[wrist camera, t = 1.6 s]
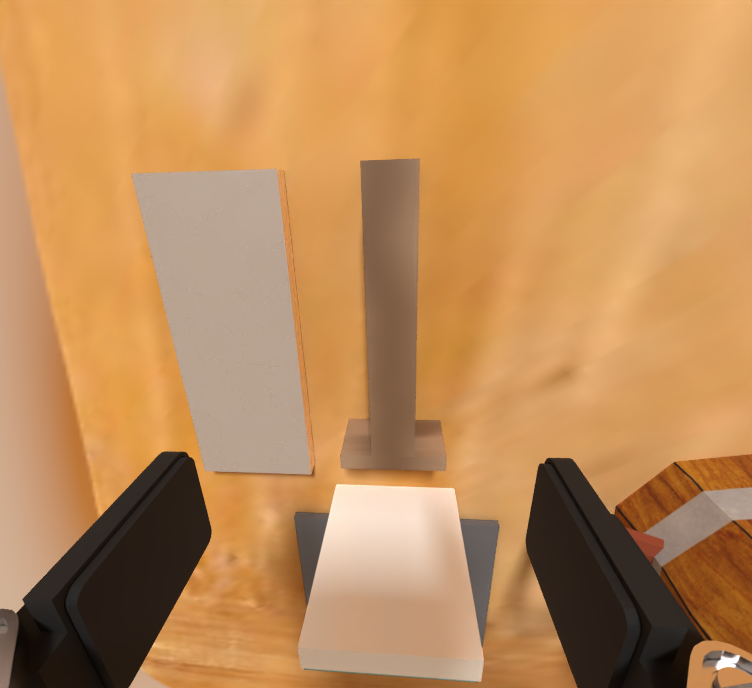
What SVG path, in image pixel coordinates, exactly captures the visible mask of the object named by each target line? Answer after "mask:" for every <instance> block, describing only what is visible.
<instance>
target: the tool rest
mask: <svg viewBox="0 0 752 688" xmlns="http://www.w3.org/2000/svg"><path fill="white" fill-rule="evenodd" d="M132 178H133V182H134V186H135V190H136V194H137V198H138V202H139V206H140V210H141V214H142V218H143V223H144V227H145V231H146V235H147V239H148V243H149V247H150V251H151V255H152V259H153V263H154V267H155V271H156V275H157V279H158V283H159V287H160V291H161V295H162V299H163V303H164V307H165V311H166V315H167V319H168V323H169V327H170V331H171V335H172V339H173V343H174V347H175V351H176V355H177V359H178V363H179V367H180V372H181V376H182V380H183V384H184V388H185V392H186V396H187V400H188V404H189V408H190V412H191V416H192V420H193V424H194V428H195V432H196V436H197V440H198V444H199V448H200V452H201V456H202V460H203V464H204V468H205V471H220V472H250V473H280V474H310V475H311V474H312V471H313V468H314V465H315V459H314V449H313V440H312V430H311V421H310V412H309V402H308V393H307V384H306V374H305V365H304V355H303V346H302V337H301V327H300V318H299V308H298V299H297V290H296V280H295V271H294V261H293V252H292V243H291V233H290V224H289V214H288V205H287V196H286V186H285V177H284V171H283V170H279V169H260V170H229V171H198V172H168V173H137V174H132Z"/></svg>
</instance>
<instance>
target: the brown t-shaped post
mask: <svg viewBox="0 0 752 688" xmlns="http://www.w3.org/2000/svg"><path fill="white" fill-rule="evenodd" d="M360 165H361V191H362V218H363V245H364V272H365V299H366V326H367V353H368V380H369V407H370V419H349V421H348V425H347V429H346V433H345V438H344V442H343V446H342V450H341V454H340V459H341V468H344V469H382V470H421V471H446V452H445V446H444V440H443V434H442V429H441V423H440V420H415V398H416V340H417V282H418V224H419V166H420V159H396V160H368V161H360Z"/></svg>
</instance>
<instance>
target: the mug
mask: <svg viewBox="0 0 752 688" xmlns="http://www.w3.org/2000/svg"><path fill="white" fill-rule="evenodd" d="M615 516H616V517H618V519H619V520H620V521H621V522H622V523H623V525H624V526H625V528H626V529H627V530H628V532H629V533H630V535H631V536H632V537H633V539H634V540H635V542H636V543H637V545H638V546H639V547H640V549H641V550H642V552H643V553H644V555H645V556H646V557H647V559H648V560H649V562H650V563H651V565H652V566H653V567H654V569H655V570H656V572H657V573H658V574H659V576H660V577H661V579H662V580H663V582H664V583H665V584H666V586H667V587H668V589H669V590H670V592H671V593H672V594H673V596H674V597H675V599H676V600H677V601H678V603H679V604H680V606H681V607H682V609H683V610H684V611H685V613H686V614H687V616H688V617H689V619H690V620H691V621H692V623H693V624H694V626H695V627H696V628H697V630H698V631H699V633H700V634H701V636H702V637H703V638H704V640H705V641H714V640H716V641H720V642H724V643H728V644H731V645H733V646H736V647H738V648H740V649H742V650H744V651H746V652H748V653H750V654H752V454H751V455H741V456H731V457H720V458H710V459H700V460H689V461H679V462H674V463H672V464H671V465H670V466H668V467H667V468H666V469H664V470H663V471H662V472H661V473H659V474H658V475H657V476H655V477H654V478H653V479H651V480H650V481H649V482H647V483H646V484H645V485H643V486H642V487H641V488H640V489H638V490H637V491H636V492H634V493H633V494H632V495H630V496H629V497H628V498H626V499H625V500H624V501H622V502H621V503H620V504H618V505H617V506H616V511H615Z"/></svg>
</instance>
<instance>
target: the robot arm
mask: <svg viewBox="0 0 752 688" xmlns="http://www.w3.org/2000/svg"><path fill="white" fill-rule="evenodd" d="M211 531H212V530H211V525H210V521H209V517H208V513H207V509H206V506H205V502H204V498H203V494H202V490H201V486H200V482H199V478H198V474H197V470H196V466H195V462H194V460H193V458H191V457H189V456H188V454H187V453H186V452H162V453H161V454H159V455H158V456H157V457H156V458H155V459H154V461H153V462H152V463H151V464H150V465H149V466H148V467H147V468H146V469H145V470H144V471H143V472H142V473H141V474H140V475H139V476H138V477H137V479H136V480H135V481H134V482H133V483H132V484H131V485H130V486H129V487H128V488H127V489H126V490H125V491H124V492H123V493H122V494H121V495H120V497H119V498H118V499H117V500H116V501H115V502H114V503H113V504H112V505H111V506H110V507H109V508H108V509H107V510H106V511H105V512H104V513H103V514H102V516H101V517H100V518H99V519H98V520H97V521H96V522H95V523H94V524H93V525H92V526H91V527H90V528H89V529H88V530H87V531H86V533H85V534H84V535H83V536H82V537H81V538H80V539H79V540H78V541H77V542H76V543H75V544H74V545H73V546H72V547H71V548H70V549H69V550H68V552H67V553H66V554H65V555H64V556H63V557H62V558H61V559H60V560H59V561H58V562H57V563H56V564H55V565H54V566H53V567H52V568H51V570H50V571H49V572H48V573H47V574H46V575H45V576H44V577H43V578H42V579H41V580H40V581H39V582H38V583H37V584H36V585H35V587H34V588H33V589H32V590H31V591H30V592H29V593H28V594H27V595H26V596H25V597H24V598H23V601H24V603H25V604H24V606H23V607H22V608H21V609H20V610H19V611H18V612H17V613H15V612H14V611H13V610H8V609H0V688H128V687H129V686H130V685H131V683H132V681H133V680H134V678H135V676H136V674H137V672H138V671H139V669H140V667H141V665H142V663H143V661H144V660H145V658H146V656H147V654H148V652H149V651H150V649H151V647H152V645H153V643H154V642H155V640H156V638H157V636H158V634H159V633H160V631H161V629H162V627H163V625H164V624H165V622H166V620H167V618H168V616H169V614H170V613H171V611H172V609H173V607H174V605H175V604H176V602H177V600H178V598H179V596H180V595H181V593H182V591H183V589H184V587H185V586H186V584H187V582H188V580H189V578H190V576H191V575H192V573H193V571H194V569H195V567H196V566H197V564H198V562H199V560H200V558H201V557H202V555H203V553H204V551H205V549H206V548H207V546H208V544H209V542H210V538H211ZM526 548H527V552H528V555H529V558H530V561H531V564H532V566H533V569H534V572H535V574H536V577H537V580H538V582H539V585H540V588H541V590H542V593H543V596H544V598H545V601H546V604H547V607H548V609H549V612H550V615H551V617H552V620H553V623H554V625H555V628H556V631H557V633H558V636H559V639H560V641H561V644H562V647H563V649H564V652H565V655H566V658H567V660H568V663H569V666H570V668H571V671H572V674H573V676H574V679H575V682H576V684H577V687H578V688H752V654H750V653H748V652H746V651H744V650H742V649H740V648H738V647H736V646H733V645H731V644H728V643H724V642H720V641H716V640H714V641H705V640H704V638H703V637H702V636H701V634H700V633H699V631H698V630H697V628H696V627H695V626H694V624H693V623H692V621H691V620H690V619H689V617H688V616H687V614H686V613H685V611H684V610H683V609H682V607H681V606H680V604H679V603H678V601H677V600H676V599H675V597H674V596H673V594H672V593H671V592H670V590H669V589H668V587H667V586H666V584H665V583H664V582H663V580H662V579H661V577H660V576H659V574H658V573H657V572H656V570H655V569H654V567H653V566H652V565H651V563H650V562H649V560H648V559H647V557H646V556H645V555H644V553H643V552H642V550H641V549H640V547H639V546H638V545H637V543H636V542H635V540H634V539H633V537H632V536H631V535H630V533H629V532H628V530H627V529H626V528H625V526H624V525H623V523H622V522H621V521H620V520H619V519H618V517H616V516H615V515H613V514H610V513H609V511H608V510H607V508H606V507H605V505H604V504H603V502H602V501H601V500H600V498H599V497H598V495H597V494H596V492H595V491H594V489H593V488H592V486H591V485H590V483H589V482H588V481H587V479H586V478H585V476H584V475H583V473H582V472H581V470H580V469H579V467H578V466H577V465H576V463H575V462H574V461H573V460H572V459H570V458H547V459H546V461H545V464H540V465H539V467H538V471H537V477H536V483H535V489H534V494H533V500H532V506H531V512H530V517H529V523H528V529H527V534H526Z"/></svg>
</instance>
